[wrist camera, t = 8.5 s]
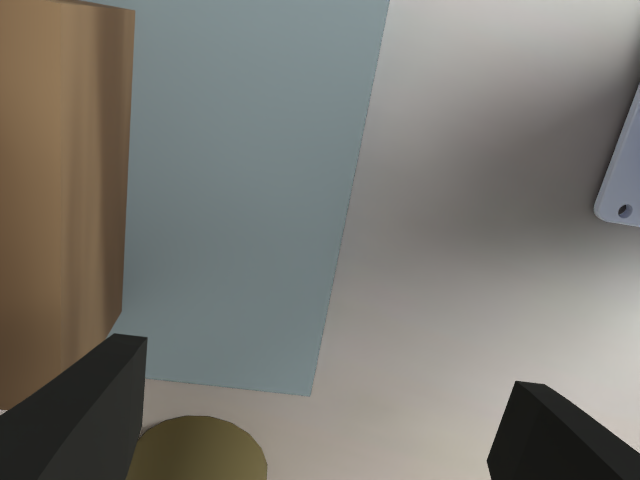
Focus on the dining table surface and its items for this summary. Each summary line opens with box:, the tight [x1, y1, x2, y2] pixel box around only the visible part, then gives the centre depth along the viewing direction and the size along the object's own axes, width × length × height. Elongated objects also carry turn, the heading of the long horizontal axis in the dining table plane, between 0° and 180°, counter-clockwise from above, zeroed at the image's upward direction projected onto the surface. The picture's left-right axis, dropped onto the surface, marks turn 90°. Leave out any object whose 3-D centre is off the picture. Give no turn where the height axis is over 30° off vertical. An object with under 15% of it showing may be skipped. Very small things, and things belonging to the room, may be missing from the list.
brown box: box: [0, 0, 135, 410], centre depth 15 cm, size 4×10×6 cm, turn 170°
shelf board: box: [81, 0, 390, 396], centre depth 16 cm, size 14×23×4 cm, turn 170°
